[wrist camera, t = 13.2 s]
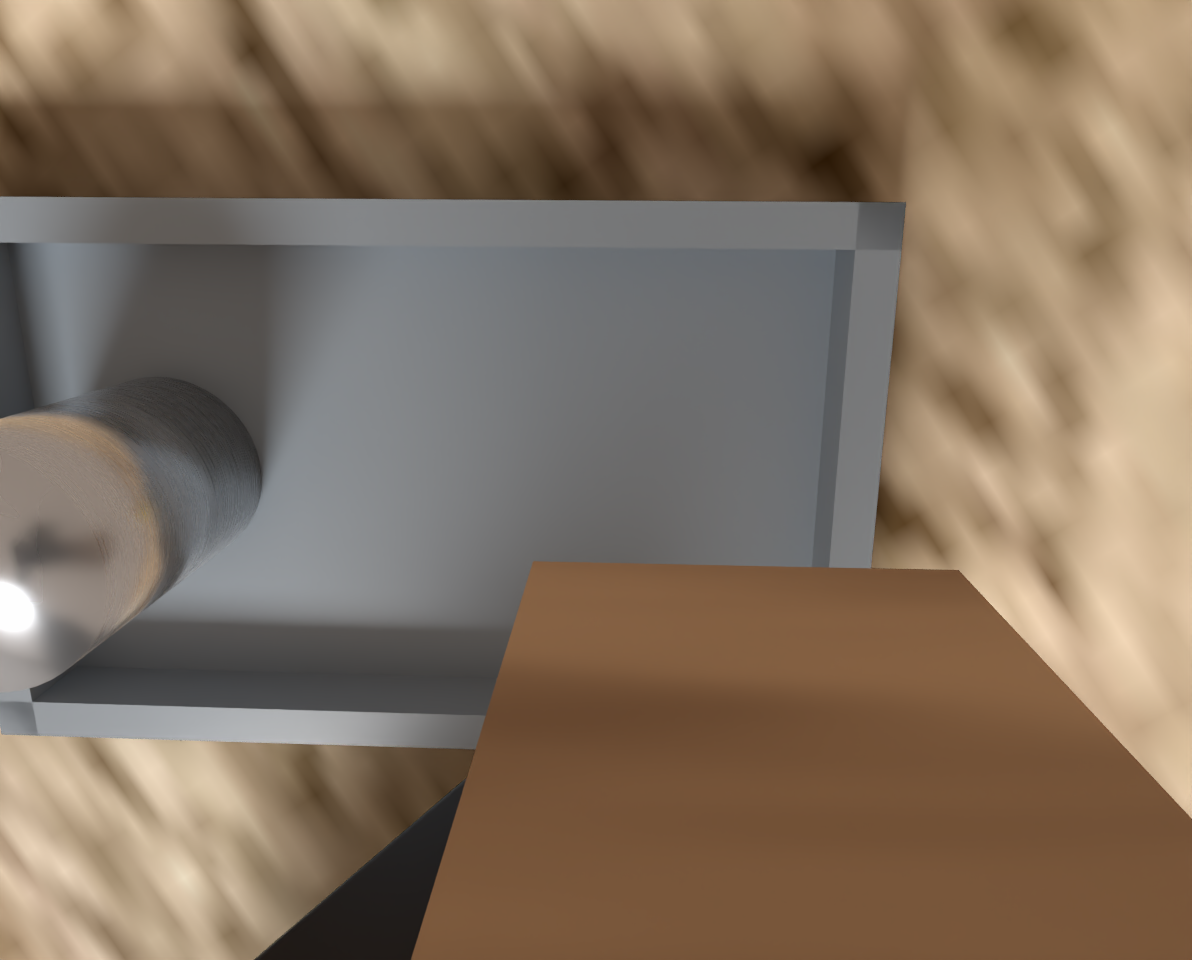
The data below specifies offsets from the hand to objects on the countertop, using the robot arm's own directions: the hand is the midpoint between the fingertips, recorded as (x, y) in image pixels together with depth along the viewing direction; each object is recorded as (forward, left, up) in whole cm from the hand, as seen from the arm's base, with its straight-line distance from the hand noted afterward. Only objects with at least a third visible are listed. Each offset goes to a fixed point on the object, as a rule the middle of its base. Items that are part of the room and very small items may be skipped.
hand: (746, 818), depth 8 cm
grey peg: (0, +11, -11) cm, 16 cm away
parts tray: (0, +5, -12) cm, 13 cm away
